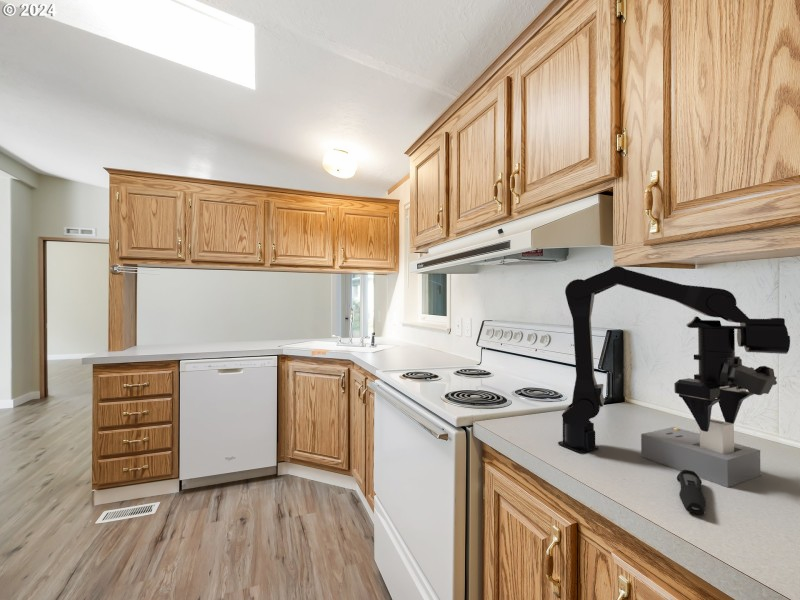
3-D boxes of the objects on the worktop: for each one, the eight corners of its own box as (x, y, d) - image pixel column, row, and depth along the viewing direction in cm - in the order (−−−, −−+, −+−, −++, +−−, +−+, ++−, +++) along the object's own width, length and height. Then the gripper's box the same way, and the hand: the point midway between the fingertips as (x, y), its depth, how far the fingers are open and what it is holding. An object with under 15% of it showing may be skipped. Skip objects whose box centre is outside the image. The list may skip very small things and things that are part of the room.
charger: (699, 460, 78) (699, 419, 78) (711, 456, 80) (710, 417, 80) (723, 467, 74) (722, 425, 74) (734, 464, 76) (733, 422, 76)
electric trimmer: (679, 517, 61) (679, 498, 61) (676, 480, 74) (676, 464, 74) (710, 525, 59) (710, 505, 59) (701, 485, 72) (701, 468, 72)
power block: (641, 456, 85) (641, 433, 85) (673, 448, 90) (673, 426, 90) (727, 487, 70) (727, 458, 70) (760, 475, 75) (760, 448, 76)
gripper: (740, 357, 66) (742, 448, 66) (791, 352, 74) (793, 433, 74) (672, 351, 76) (673, 429, 76) (723, 347, 84) (724, 418, 84)
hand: (717, 428), depth 77 cm, fingers open, 9 cm apart
